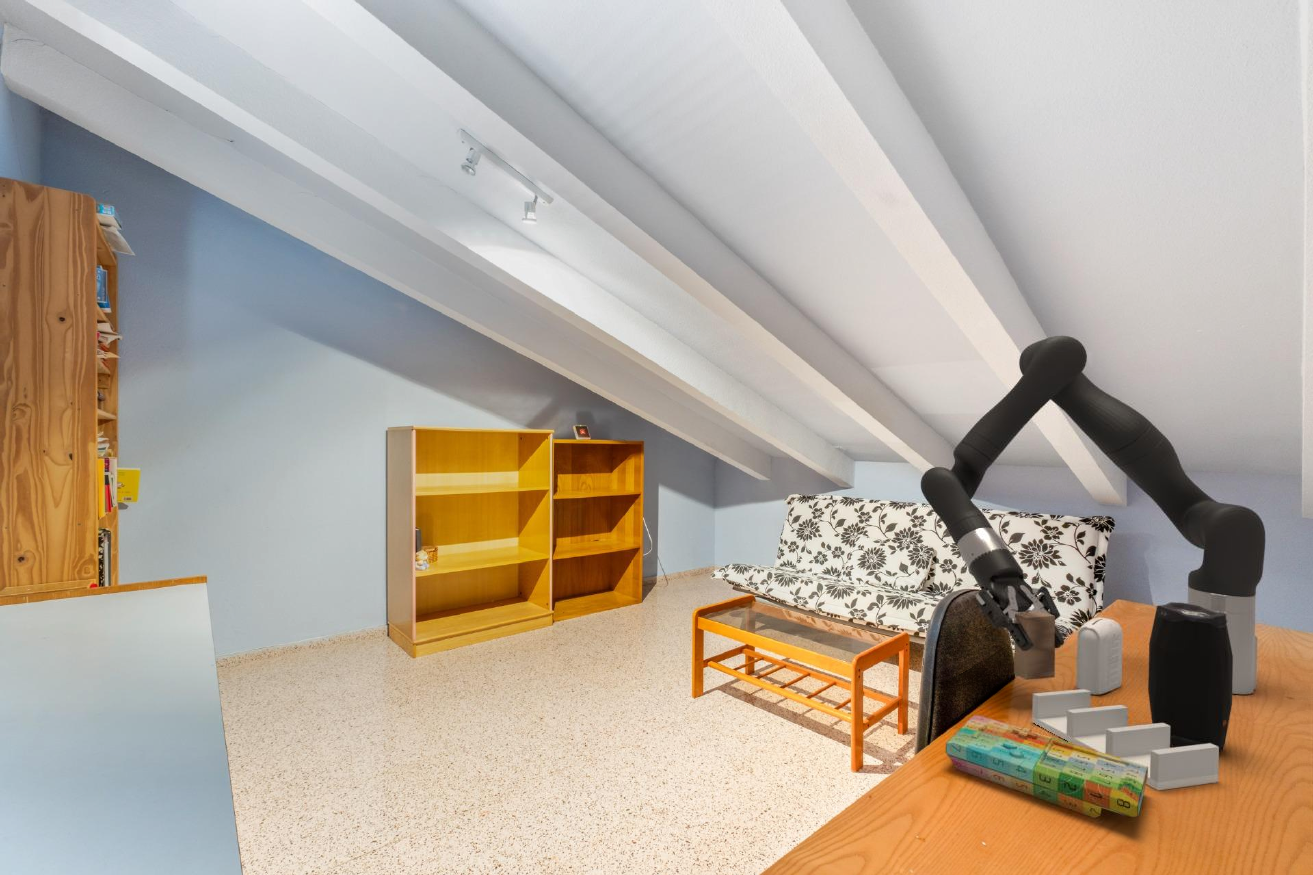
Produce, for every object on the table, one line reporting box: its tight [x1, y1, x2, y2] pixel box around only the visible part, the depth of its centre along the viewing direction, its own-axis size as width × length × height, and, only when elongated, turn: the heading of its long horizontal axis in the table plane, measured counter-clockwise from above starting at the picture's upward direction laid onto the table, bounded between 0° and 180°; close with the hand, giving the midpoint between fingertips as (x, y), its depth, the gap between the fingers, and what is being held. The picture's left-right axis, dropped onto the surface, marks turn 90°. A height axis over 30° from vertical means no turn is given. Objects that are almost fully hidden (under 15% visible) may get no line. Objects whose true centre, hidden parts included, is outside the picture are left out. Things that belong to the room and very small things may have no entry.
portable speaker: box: [1147, 601, 1233, 751], centre depth 91 cm, size 9×9×20 cm
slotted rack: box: [1031, 689, 1220, 791], centre depth 88 cm, size 10×19×4 cm, turn 14°
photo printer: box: [1075, 617, 1124, 696], centre depth 112 cm, size 10×4×12 cm, turn 123°
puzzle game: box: [945, 714, 1148, 819], centre depth 79 cm, size 12×5×20 cm
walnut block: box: [1013, 612, 1056, 681], centre depth 103 cm, size 6×2×10 cm, turn 104°
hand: (1043, 647), depth 101 cm, fingers closed on walnut block, 5 cm apart
